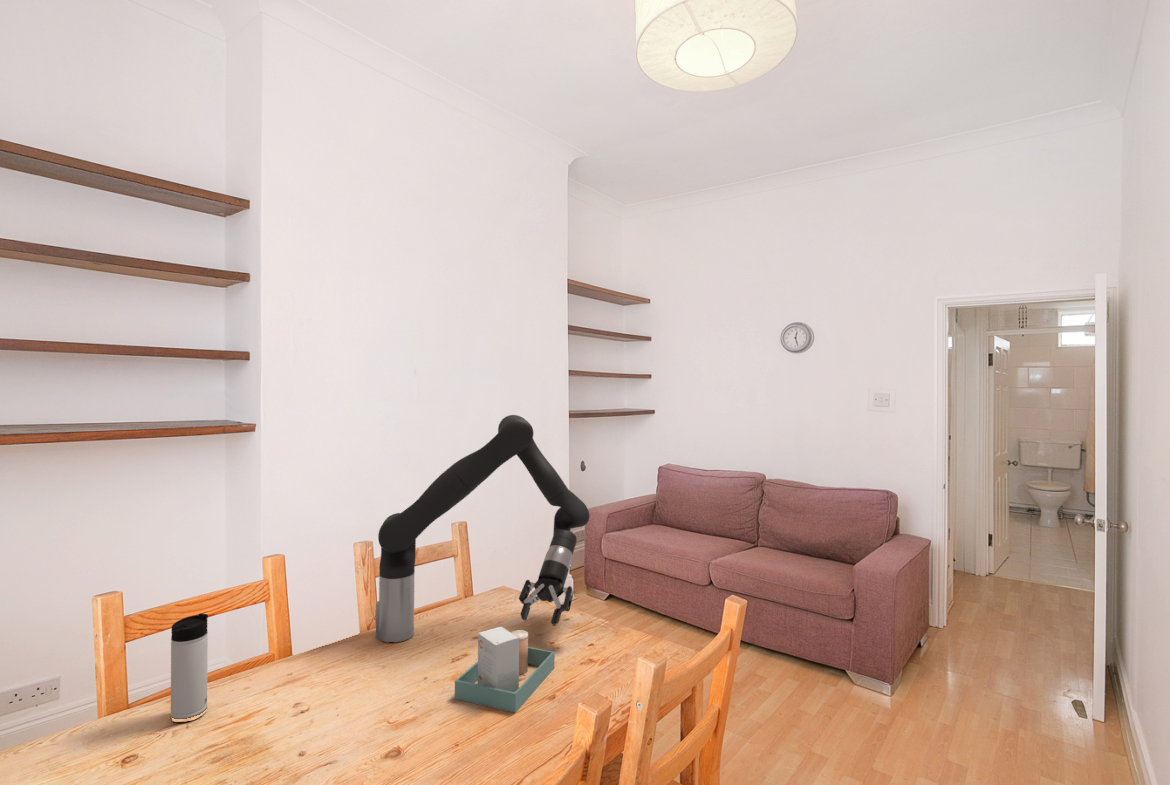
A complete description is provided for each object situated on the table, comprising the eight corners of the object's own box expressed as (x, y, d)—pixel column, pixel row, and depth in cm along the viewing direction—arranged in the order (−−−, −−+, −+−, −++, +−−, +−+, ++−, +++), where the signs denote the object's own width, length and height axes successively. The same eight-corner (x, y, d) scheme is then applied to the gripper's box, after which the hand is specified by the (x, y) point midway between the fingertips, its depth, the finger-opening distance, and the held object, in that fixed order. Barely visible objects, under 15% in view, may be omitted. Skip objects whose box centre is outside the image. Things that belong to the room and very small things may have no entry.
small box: (519, 695, 130) (520, 637, 130) (494, 704, 126) (495, 645, 126) (500, 680, 136) (501, 625, 136) (476, 689, 132) (477, 632, 132)
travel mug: (215, 709, 122) (216, 615, 122) (185, 726, 116) (185, 627, 116) (194, 703, 124) (194, 611, 124) (163, 720, 118) (163, 623, 118)
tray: (454, 698, 128) (454, 680, 128) (500, 657, 148) (500, 641, 148) (515, 712, 123) (515, 694, 123) (554, 667, 142) (554, 651, 142)
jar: (506, 673, 140) (506, 636, 139) (514, 665, 144) (515, 629, 144) (522, 676, 138) (523, 639, 138) (530, 668, 142) (531, 631, 142)
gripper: (529, 555, 162) (509, 611, 152) (576, 562, 157) (559, 619, 147) (536, 569, 167) (518, 623, 157) (583, 575, 162) (566, 632, 152)
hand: (538, 621), depth 152 cm, fingers open, 8 cm apart
